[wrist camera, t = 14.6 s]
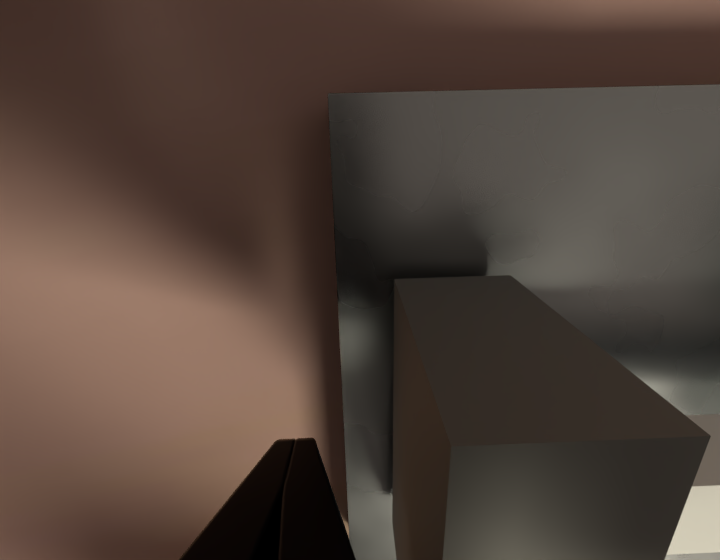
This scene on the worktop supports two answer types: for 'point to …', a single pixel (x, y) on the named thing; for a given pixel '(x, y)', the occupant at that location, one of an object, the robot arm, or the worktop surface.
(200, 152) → the worktop surface
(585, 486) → the ram
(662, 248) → the press
